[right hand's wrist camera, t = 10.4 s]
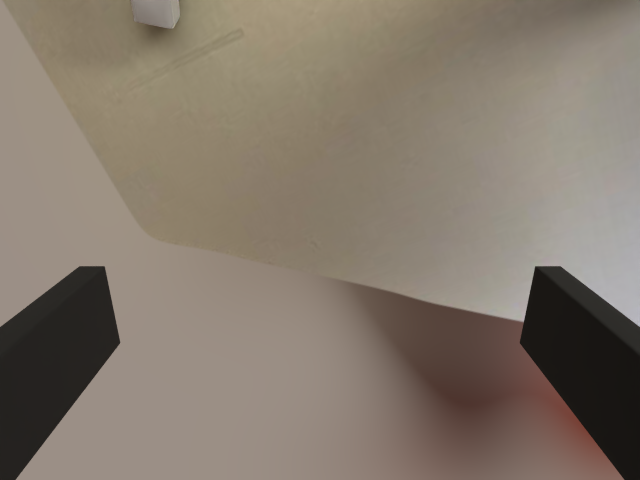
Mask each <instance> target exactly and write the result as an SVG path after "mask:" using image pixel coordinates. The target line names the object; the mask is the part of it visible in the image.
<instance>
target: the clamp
mask: <svg viewBox="0 0 640 480" xmlns="http://www.w3.org/2000/svg"><path fill="white" fill-rule="evenodd" d="M131 5H132V10H133V16H134V21H135V22H139V23H144V24H149V25H154V26H159V27H164V28H169V29H172V28H174V27H175V25H176V23H177V21H178V20H179V18H180V7H179V0H131Z"/></svg>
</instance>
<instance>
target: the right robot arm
mask: <svg viewBox="0 0 640 480" xmlns="http://www.w3.org/2000/svg"><path fill="white" fill-rule="evenodd" d="M119 344H120V339H119V334H118V329H117V325H116V320H115V315H114V310H113V305H112V300H111V295H110V290H109V286H108V281H107V276H106V271H105V267H104V266H80V267H78V268H77V269H76V270H74V271H73V272H72V273H70V274H69V275H68V276H66V277H65V278H64V279H62V280H61V281H60V282H59V283H57V284H56V285H55V286H53V287H52V288H51V289H49V290H48V291H47V292H45V293H44V294H43V295H42V296H40V297H39V298H38V299H36V300H35V301H34V302H32V303H31V304H30V305H29V306H27V307H26V308H25V309H23V310H22V311H21V312H20V313H18V314H17V315H15V316H14V317H13V318H12V319H10V320H9V321H8V322H6V323H5V324H4V325H3V326H1V327H0V480H16V478H17V477H18V476H19V474H20V473H21V472H22V471H23V469H24V468H25V467H26V465H27V464H28V463H29V461H30V460H31V459H32V457H33V456H34V455H35V454H36V452H37V451H38V450H39V448H40V447H41V446H42V444H43V443H44V442H45V440H46V439H47V438H48V437H49V435H50V434H51V433H52V431H53V430H54V429H55V427H56V426H57V425H58V424H59V422H60V421H61V420H62V418H63V417H64V416H65V414H66V413H67V412H68V410H69V409H70V408H71V407H72V405H73V404H74V403H75V401H76V400H77V399H78V397H79V396H80V395H81V393H82V392H83V391H84V390H85V388H86V387H87V386H88V384H89V383H90V382H91V380H92V379H93V378H94V377H95V375H96V374H97V373H98V371H99V370H100V369H101V367H102V366H103V365H104V363H105V362H106V361H107V360H108V358H109V357H110V356H111V354H112V353H113V352H114V350H115V349H116V348H117V346H118V345H119ZM520 344H521V345H522V346H523V348H524V349H525V350H526V352H527V353H528V354H529V356H530V357H531V358H532V360H533V361H534V362H535V363H536V365H537V366H538V367H539V369H540V370H541V371H542V373H543V374H544V375H545V377H546V378H547V379H548V380H549V382H550V383H551V384H552V386H553V387H554V388H555V390H556V391H557V392H558V393H559V395H560V396H561V397H562V399H563V400H564V401H565V403H566V404H567V405H568V406H569V408H570V409H571V410H572V412H573V413H574V414H575V416H576V417H577V418H578V420H579V421H580V422H581V424H582V425H583V426H584V427H585V429H586V430H587V431H588V433H589V434H590V435H591V437H592V438H593V439H594V440H595V442H596V443H597V444H598V446H599V447H600V448H601V450H602V451H603V452H604V454H605V455H606V456H607V457H608V459H609V460H610V461H611V463H612V464H613V465H614V467H615V468H616V469H617V471H618V472H619V473H620V474H621V476H622V477H623V478H624V480H640V327H639V326H638V325H636V324H635V323H634V322H632V321H631V320H630V319H628V318H627V317H626V316H625V315H623V314H622V313H621V312H619V311H618V310H617V309H615V308H614V307H613V306H611V305H610V304H609V303H608V302H606V301H605V300H604V299H602V298H601V297H600V296H598V295H597V294H596V293H595V292H593V291H592V290H591V289H589V288H588V287H587V286H585V285H584V284H583V283H581V282H580V281H579V280H578V279H576V278H575V277H574V276H572V275H571V274H570V273H568V272H567V271H566V270H565V269H563V268H562V267H561V266H535V271H534V276H533V280H532V285H531V290H530V295H529V300H528V305H527V310H526V315H525V320H524V325H523V329H522V334H521V339H520Z"/></svg>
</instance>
